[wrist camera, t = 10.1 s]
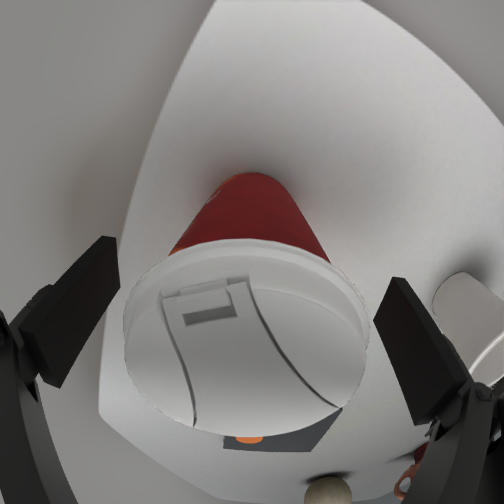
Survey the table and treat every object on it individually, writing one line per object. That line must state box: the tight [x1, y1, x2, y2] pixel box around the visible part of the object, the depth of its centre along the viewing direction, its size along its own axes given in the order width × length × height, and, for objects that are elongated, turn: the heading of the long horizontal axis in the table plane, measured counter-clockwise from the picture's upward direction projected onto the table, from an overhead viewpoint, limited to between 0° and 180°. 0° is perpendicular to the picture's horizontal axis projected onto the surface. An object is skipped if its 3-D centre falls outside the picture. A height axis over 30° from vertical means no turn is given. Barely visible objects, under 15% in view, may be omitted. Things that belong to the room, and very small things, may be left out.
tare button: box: [236, 437, 263, 443], centre depth 30 cm, size 3×3×2 cm
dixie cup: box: [432, 272, 504, 387], centre depth 20 cm, size 8×8×10 cm
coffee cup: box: [123, 173, 370, 437], centre depth 15 cm, size 8×8×15 cm
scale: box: [223, 407, 343, 452], centre depth 34 cm, size 15×15×3 cm
